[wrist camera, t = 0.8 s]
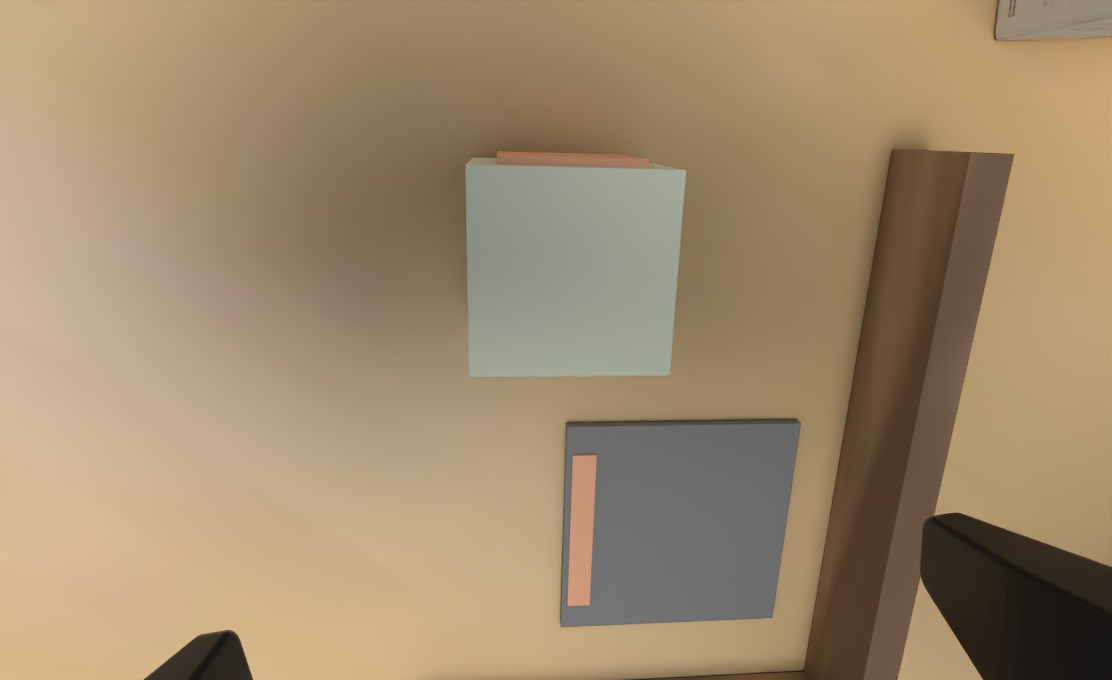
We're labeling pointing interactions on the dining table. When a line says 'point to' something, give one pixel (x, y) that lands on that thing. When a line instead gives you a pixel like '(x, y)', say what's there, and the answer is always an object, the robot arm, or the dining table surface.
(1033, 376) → the dining table surface
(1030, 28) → the supplement box
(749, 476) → the tile
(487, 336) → the sage cube
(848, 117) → the dining table surface
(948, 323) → the block
